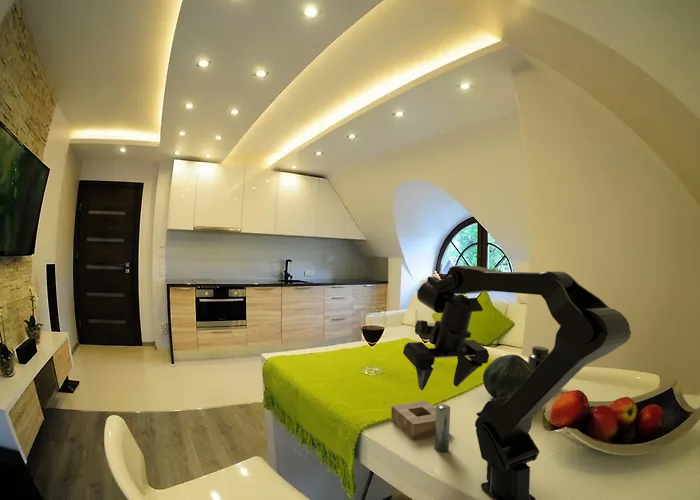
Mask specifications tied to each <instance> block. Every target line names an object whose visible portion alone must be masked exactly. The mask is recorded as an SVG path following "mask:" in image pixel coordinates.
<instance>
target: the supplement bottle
mask: <svg viewBox="0 0 700 500" xmlns="http://www.w3.org/2000/svg"><path fill="white" fill-rule="evenodd" d="M549 350H550V349H549V348H546V347H544V346H543V347H542V346H537V345H535V346H532V351H531V353H532V354H530V355H529V356H528V361H527V362H528V363H529V364H530V365H531V366H532V367H533V368H534V370H535V369H536V367H537V366H538V365H539V364H540V363H541V362H542V361H543V360H544V359H545V357H546V356H547V355H548V354H549V353H550V351H549Z"/></svg>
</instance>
